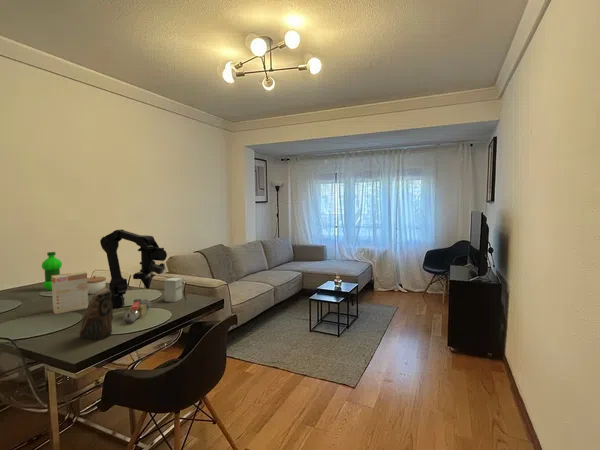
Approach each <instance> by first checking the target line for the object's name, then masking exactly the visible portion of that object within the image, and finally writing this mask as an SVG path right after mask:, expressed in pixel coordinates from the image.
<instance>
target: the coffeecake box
mask: <svg viewBox="0 0 600 450" xmlns="http://www.w3.org/2000/svg"><path fill="white" fill-rule="evenodd" d="M51 278H52V291H51V292H52V293H51V294H52V295H51V296H52V312H53V313H54V315H57V314H63V313H64V314H65V313H68V312H74V311H79V310H80V311H81V310H84V309H87V307H88V305H89V294H88V286H87V278H88V273H87V272H86V271H77V272H69V273H62V274H61V273H60V275H52V276H51Z"/></svg>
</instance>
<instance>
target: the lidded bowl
mask: <svg viewBox="0 0 600 450" xmlns="http://www.w3.org/2000/svg"><path fill="white" fill-rule="evenodd" d="M106 281H107V277H105V276H96V275H93V276H91V277H87V286H88V295H95V294H96V293H97V292H98V291H99V290H101V289H103V288H104V287H106V284H107V282H106Z"/></svg>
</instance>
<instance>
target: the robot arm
mask: <svg viewBox="0 0 600 450" xmlns="http://www.w3.org/2000/svg"><path fill="white" fill-rule="evenodd" d="M122 239H123V240H125V241H130V242H132V243H135V244H136V246H138V247H139V248H138V249H137V252H140V256H141V257H140V259H141V261H139V265H141V266H140V267H141V269H139V271H137V272H135V273H134V274H133V275H132V278H133V280H141V282H142V283H143V285H144V287H145V289H146V290H149V289H150V287H151V284H152V280H153V279H154V277H155V276H156V275H161V274H163V273H164V272H165V270H166V266H165V263H163V262H164V261H166V259H167V257H168V253H167V251H166V250H165V248H164V247H160V246H159V244H158V243H157V241H156V240H155V238H154V236H153V235H145V234H144V235H141V234H137V233H135V232H131V231H127V230H125V229H116V230H114V231H112V232H110V233H109V234H107V235H105V236H102V237H101V239H100V240H99V241H100V247H101V248H102V250H103V251H104V253H106V257H107V262H108V263H107V264H108V267H109V268H108V269H109V273H110V281H109V284H108V285H109V287H108V289H110V291H111V293H112V296H111V302H112V303H113V306H112V308H113V309H120V308H122V307H124V305H125V304H126V303H125V297H124V295H126V293H127V290H128V286H129V284H128V279H127V278H124V277H123V276H122V272H121V267H120V261H119V256H118V249H119V243H120V242H121V241H122ZM156 261H160V262H161V263H158V264H157V263H156ZM155 273H156V274H155Z"/></svg>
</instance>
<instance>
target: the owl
mask: <svg viewBox="0 0 600 450" xmlns="http://www.w3.org/2000/svg"><path fill="white" fill-rule="evenodd" d="M111 296H112V293H111V291H110V288H109V287H108V286H106V285H105V287H104V288H103V289H101V290H99V291H98V292H97V293H96V294H93V296H92V297H91V299H90V300H89V301H88V307H87V308H86V311H85V313H84V317H83V318H82V321H81V327H80V332H79V339H86V340H94V341H102V340H106V339H108V338H109V337H111V334H112V332H113V330H112V329H113V328H112V326H113V325H112V320H113V319H114V313H113V312H114V308H112V306H113V303H112V302H111Z"/></svg>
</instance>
